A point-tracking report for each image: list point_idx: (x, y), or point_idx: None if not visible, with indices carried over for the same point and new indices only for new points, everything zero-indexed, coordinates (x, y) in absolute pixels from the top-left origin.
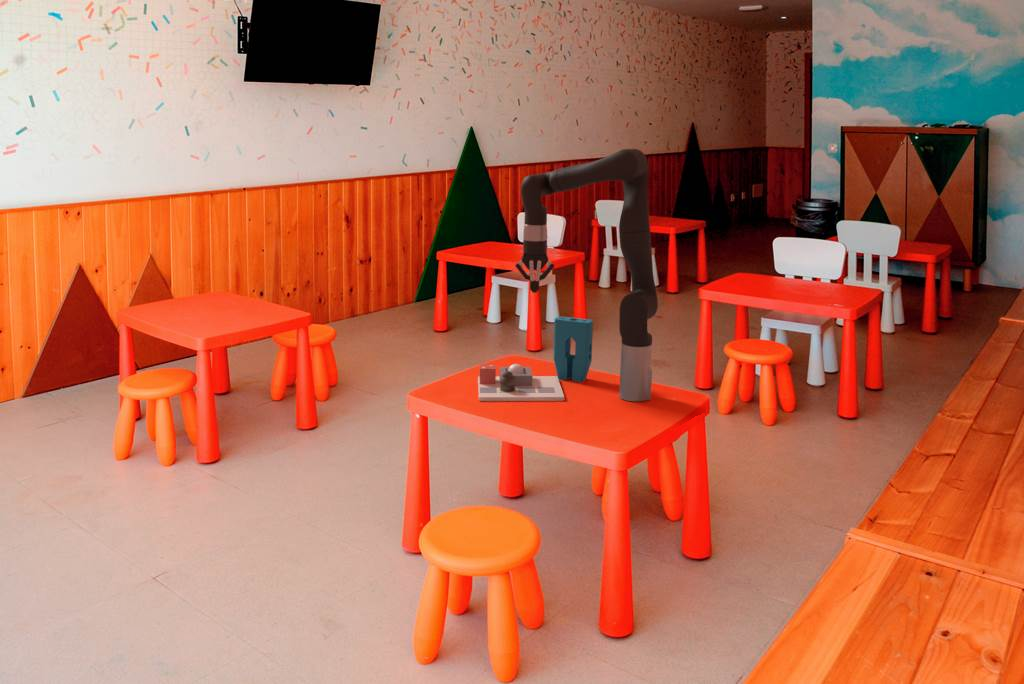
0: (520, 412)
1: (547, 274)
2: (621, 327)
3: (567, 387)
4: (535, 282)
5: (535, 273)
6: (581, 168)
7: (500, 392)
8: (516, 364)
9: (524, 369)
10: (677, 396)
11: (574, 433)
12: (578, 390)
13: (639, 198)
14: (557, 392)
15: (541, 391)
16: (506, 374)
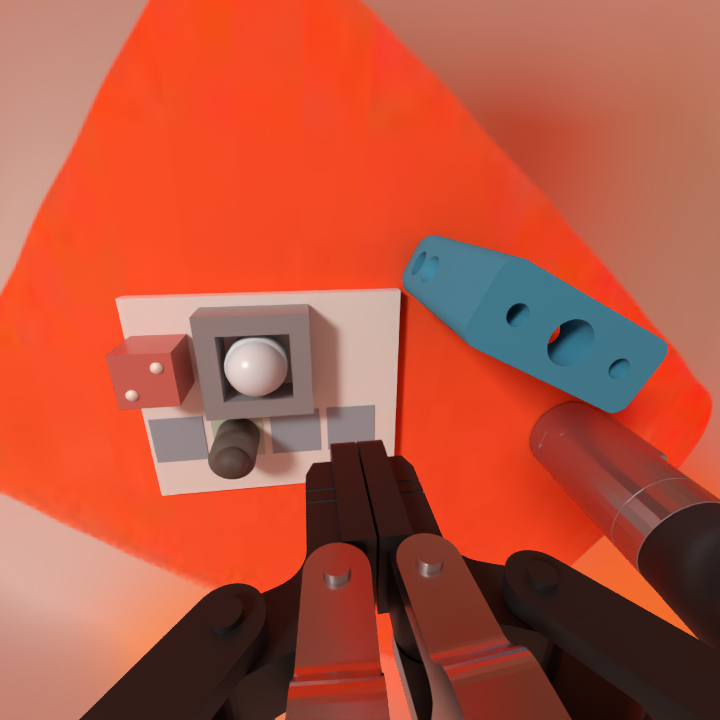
0: (280, 546)
1: (621, 716)
2: (685, 621)
3: (417, 364)
4: (383, 600)
5: (428, 660)
6: None
7: None
8: (255, 382)
9: (287, 333)
10: (663, 419)
11: (383, 626)
12: (442, 388)
13: None
14: None
15: (337, 442)
16: (227, 477)
